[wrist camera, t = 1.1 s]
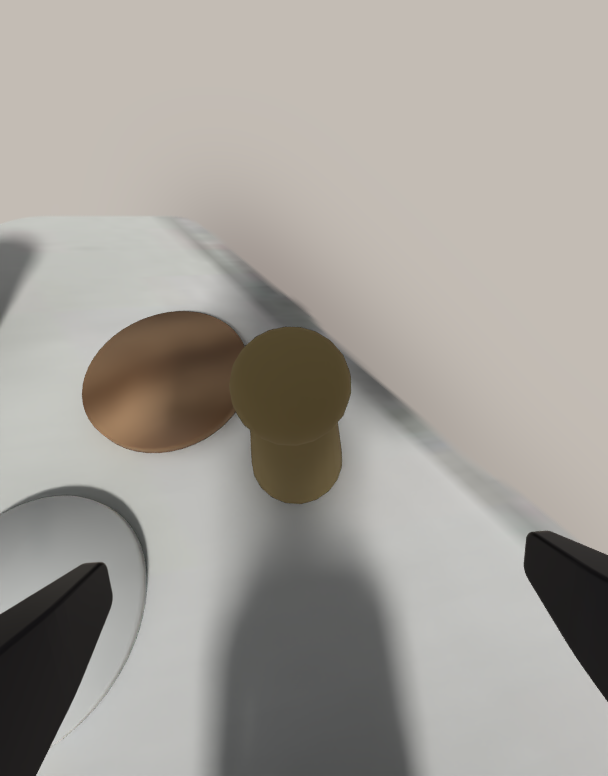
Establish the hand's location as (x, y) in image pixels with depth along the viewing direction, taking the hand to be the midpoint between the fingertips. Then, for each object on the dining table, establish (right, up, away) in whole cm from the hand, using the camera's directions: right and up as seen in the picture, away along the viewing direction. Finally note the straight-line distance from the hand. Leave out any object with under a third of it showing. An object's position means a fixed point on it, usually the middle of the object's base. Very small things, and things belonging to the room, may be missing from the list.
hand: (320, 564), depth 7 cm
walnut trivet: (-11, +4, +19) cm, 22 cm away
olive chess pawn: (-1, -1, +16) cm, 16 cm away
